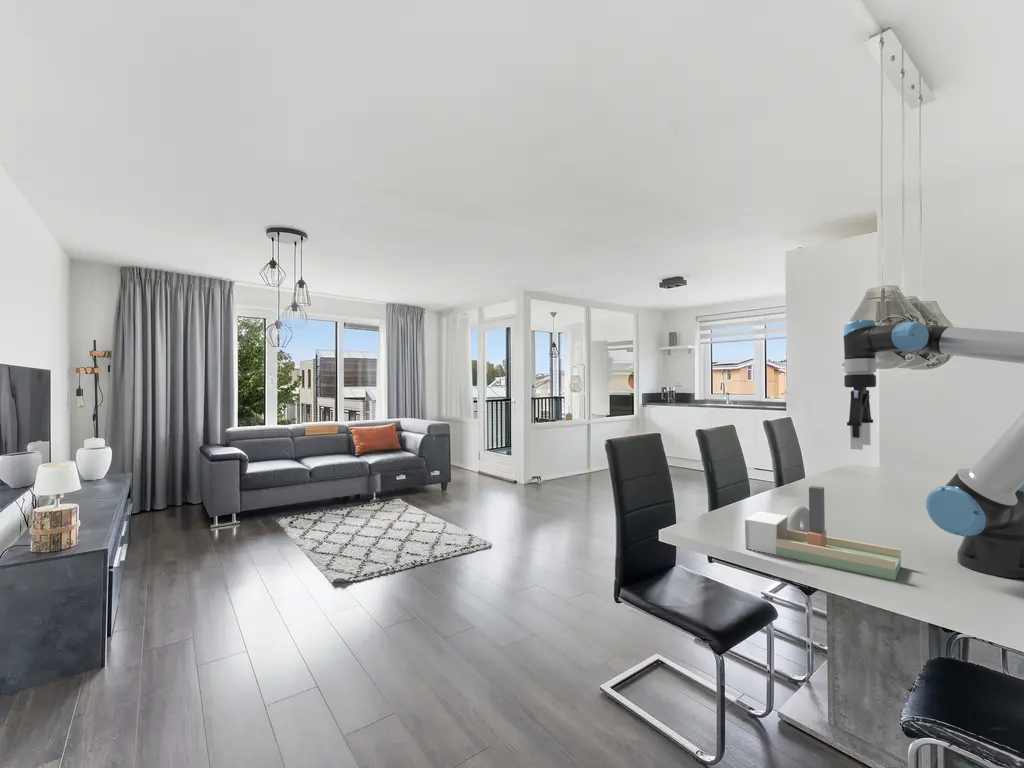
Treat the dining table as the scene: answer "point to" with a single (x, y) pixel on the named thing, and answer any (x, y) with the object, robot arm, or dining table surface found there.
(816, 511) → the striker
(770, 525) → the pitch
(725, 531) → the dining table surface
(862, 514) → the dining table surface
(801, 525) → the donut
